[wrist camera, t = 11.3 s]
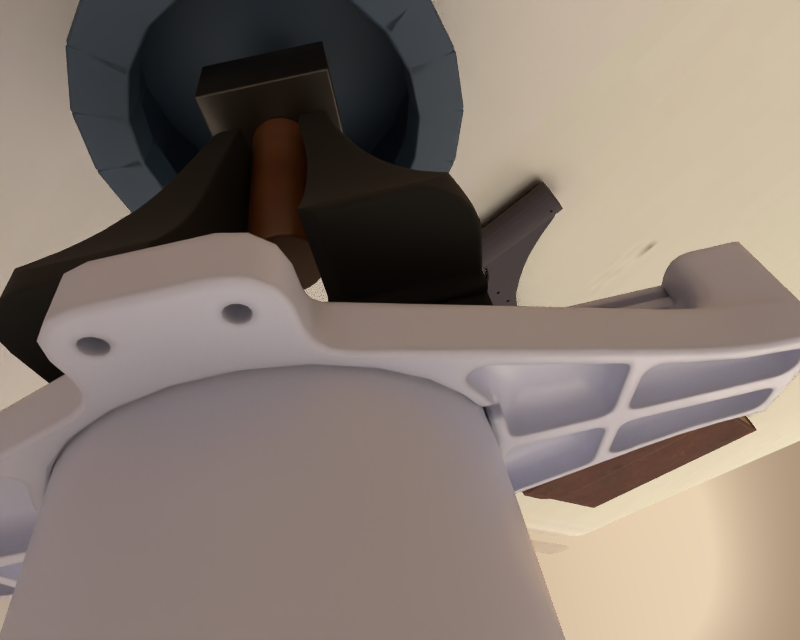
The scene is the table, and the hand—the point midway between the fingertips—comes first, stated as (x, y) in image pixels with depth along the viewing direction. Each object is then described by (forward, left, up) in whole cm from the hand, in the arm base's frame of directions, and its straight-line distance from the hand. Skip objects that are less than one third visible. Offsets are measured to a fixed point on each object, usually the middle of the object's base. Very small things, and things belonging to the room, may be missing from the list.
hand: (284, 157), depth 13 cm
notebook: (+42, -26, -7) cm, 50 cm away
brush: (0, 0, -3) cm, 3 cm away
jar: (0, 0, -7) cm, 7 cm away
